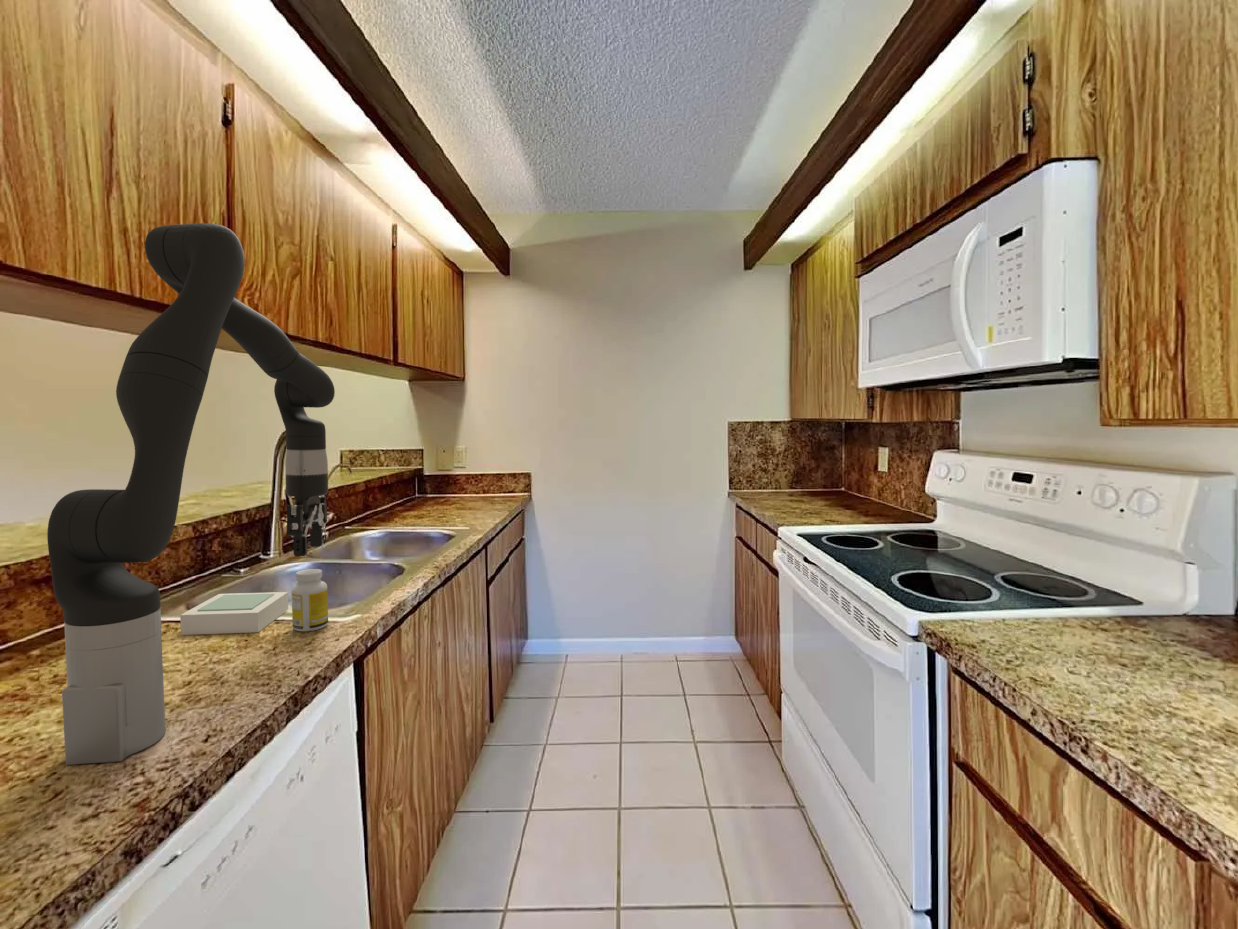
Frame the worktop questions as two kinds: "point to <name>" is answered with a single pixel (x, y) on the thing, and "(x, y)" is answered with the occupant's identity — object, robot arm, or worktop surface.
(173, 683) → the worktop surface
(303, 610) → the pill bottle
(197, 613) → the stand
